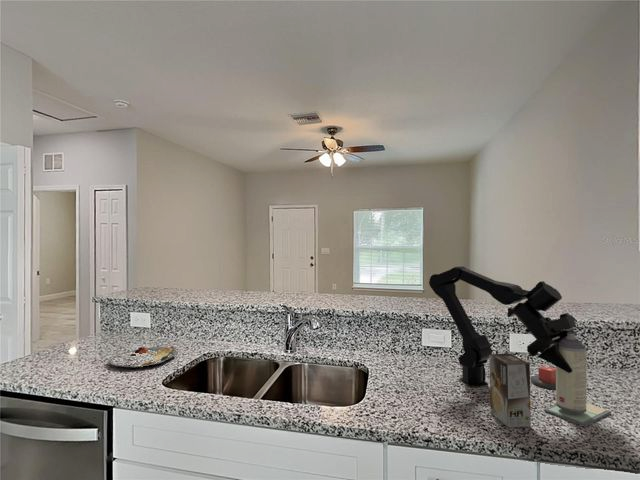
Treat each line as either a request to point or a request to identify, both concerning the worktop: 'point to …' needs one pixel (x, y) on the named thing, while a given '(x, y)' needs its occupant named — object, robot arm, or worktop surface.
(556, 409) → the game board
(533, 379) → the red die on its tray
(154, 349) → the food plate
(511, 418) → the coffee box
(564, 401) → the aerosol can
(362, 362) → the worktop surface
